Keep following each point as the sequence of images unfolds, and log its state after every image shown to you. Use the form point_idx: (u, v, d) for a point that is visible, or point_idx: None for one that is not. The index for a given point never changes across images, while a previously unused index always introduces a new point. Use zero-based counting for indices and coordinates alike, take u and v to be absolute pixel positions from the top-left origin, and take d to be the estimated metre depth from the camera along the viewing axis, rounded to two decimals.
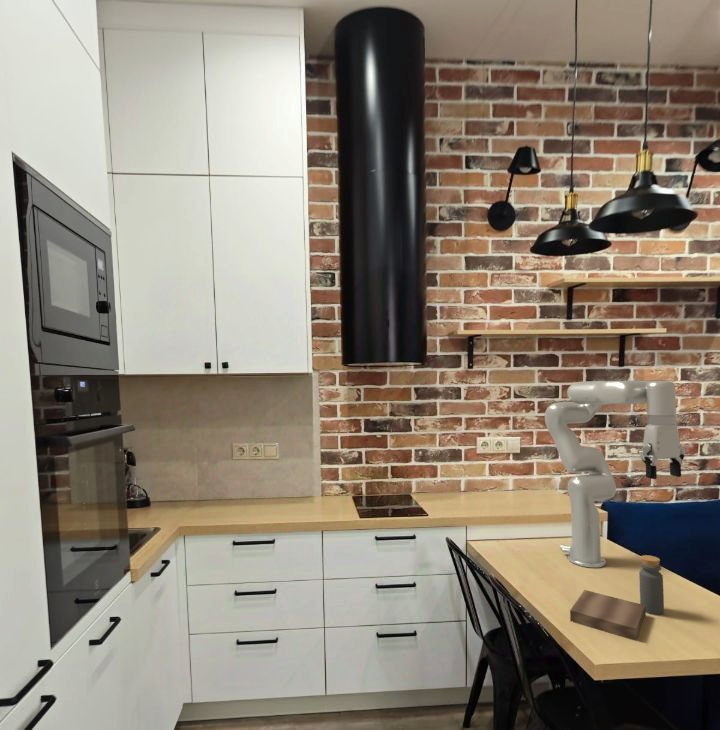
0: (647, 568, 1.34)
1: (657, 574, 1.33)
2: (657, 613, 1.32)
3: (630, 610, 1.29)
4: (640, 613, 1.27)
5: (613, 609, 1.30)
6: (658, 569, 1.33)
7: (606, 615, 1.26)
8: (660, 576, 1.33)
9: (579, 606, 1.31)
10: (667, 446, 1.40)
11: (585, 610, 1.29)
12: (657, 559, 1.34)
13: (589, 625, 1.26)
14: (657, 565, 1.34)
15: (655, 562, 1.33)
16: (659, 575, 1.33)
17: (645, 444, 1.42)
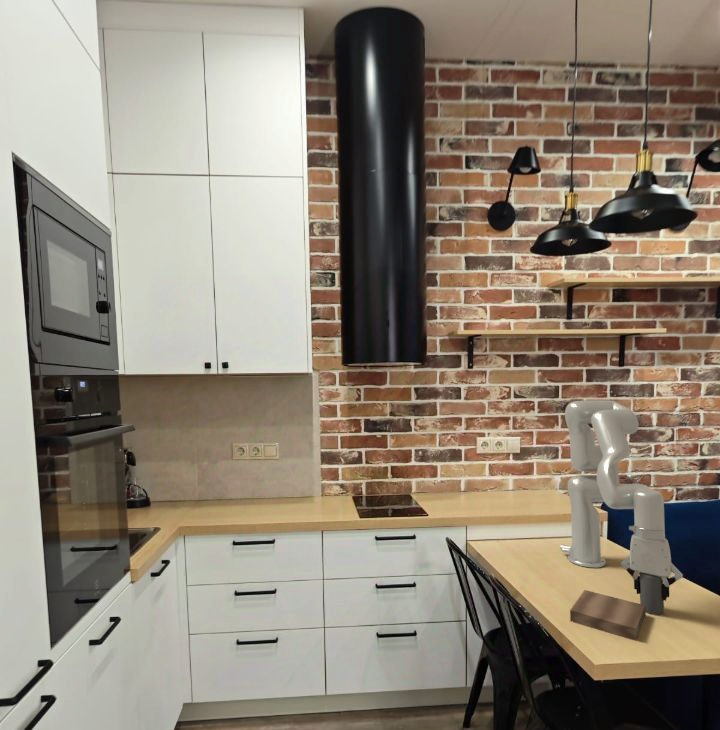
0: None
1: None
2: (657, 613, 1.32)
3: (630, 610, 1.29)
4: (640, 613, 1.27)
5: (613, 609, 1.30)
6: None
7: (606, 615, 1.26)
8: None
9: (579, 606, 1.31)
10: None
11: (585, 610, 1.29)
12: None
13: (589, 625, 1.26)
14: None
15: None
16: None
17: (670, 563, 1.31)
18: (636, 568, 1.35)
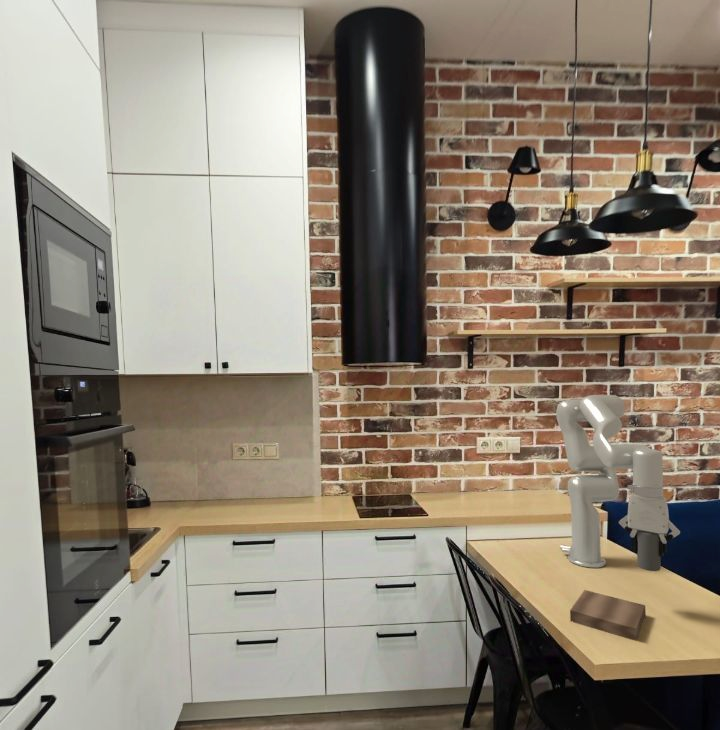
0: None
1: None
2: (654, 569, 1.33)
3: (630, 610, 1.29)
4: (640, 613, 1.27)
5: (613, 609, 1.30)
6: None
7: (606, 615, 1.26)
8: None
9: (579, 606, 1.31)
10: None
11: (585, 610, 1.29)
12: None
13: (589, 625, 1.26)
14: None
15: None
16: None
17: (668, 520, 1.32)
18: (634, 526, 1.36)
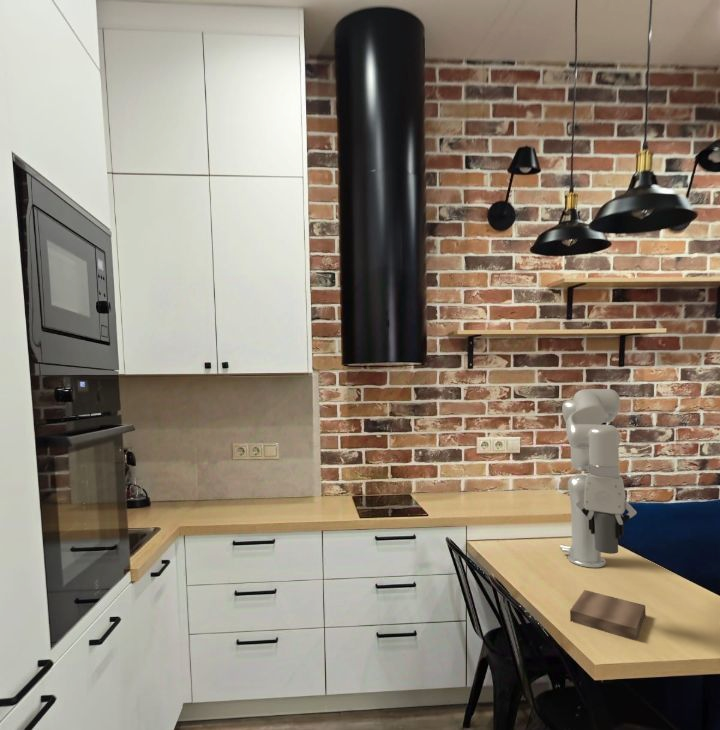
0: None
1: None
2: (610, 552, 1.28)
3: (630, 610, 1.29)
4: (640, 613, 1.27)
5: (613, 609, 1.30)
6: None
7: (606, 615, 1.26)
8: None
9: (579, 606, 1.31)
10: None
11: (585, 610, 1.29)
12: None
13: (589, 625, 1.26)
14: None
15: None
16: None
17: (624, 500, 1.28)
18: (590, 507, 1.32)
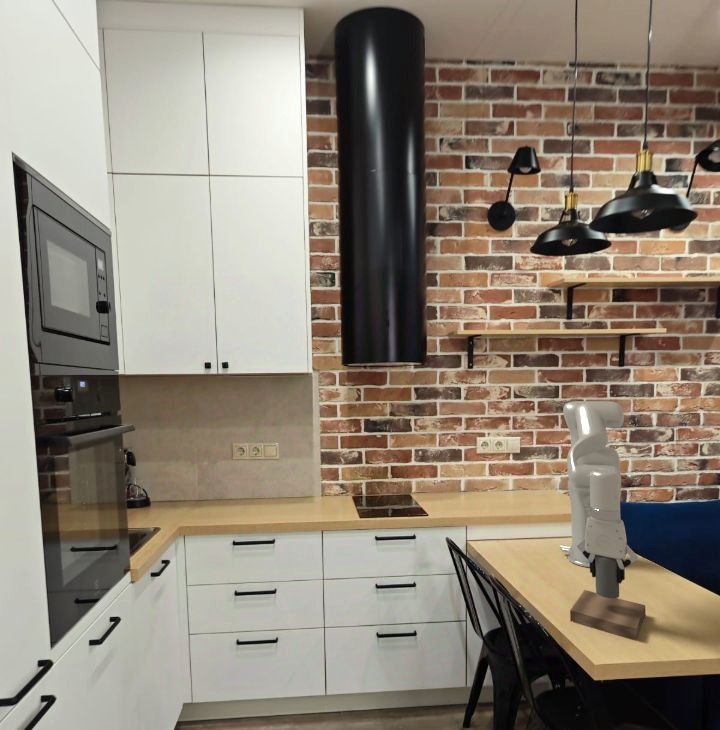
0: None
1: None
2: (612, 596, 1.28)
3: (630, 610, 1.29)
4: (640, 613, 1.27)
5: (613, 609, 1.30)
6: None
7: (606, 615, 1.26)
8: None
9: (579, 606, 1.31)
10: None
11: (585, 610, 1.29)
12: None
13: (589, 625, 1.26)
14: None
15: None
16: None
17: (625, 544, 1.27)
18: (591, 550, 1.31)
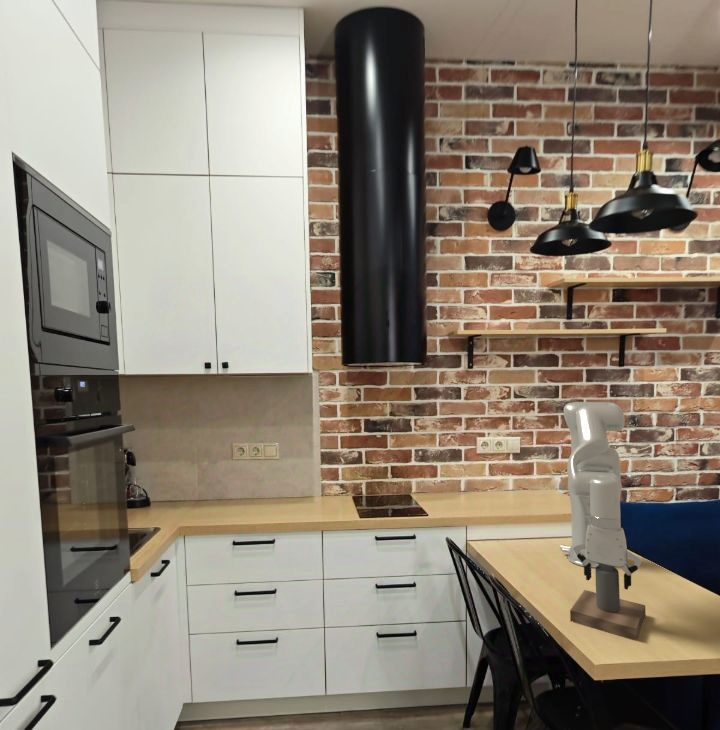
0: (602, 564, 1.29)
1: (612, 570, 1.29)
2: (612, 610, 1.28)
3: (630, 610, 1.29)
4: (640, 613, 1.27)
5: None
6: None
7: (606, 615, 1.26)
8: (615, 572, 1.29)
9: (579, 606, 1.31)
10: None
11: (585, 610, 1.29)
12: None
13: (589, 625, 1.26)
14: None
15: None
16: (614, 571, 1.29)
17: (625, 552, 1.27)
18: (591, 558, 1.31)
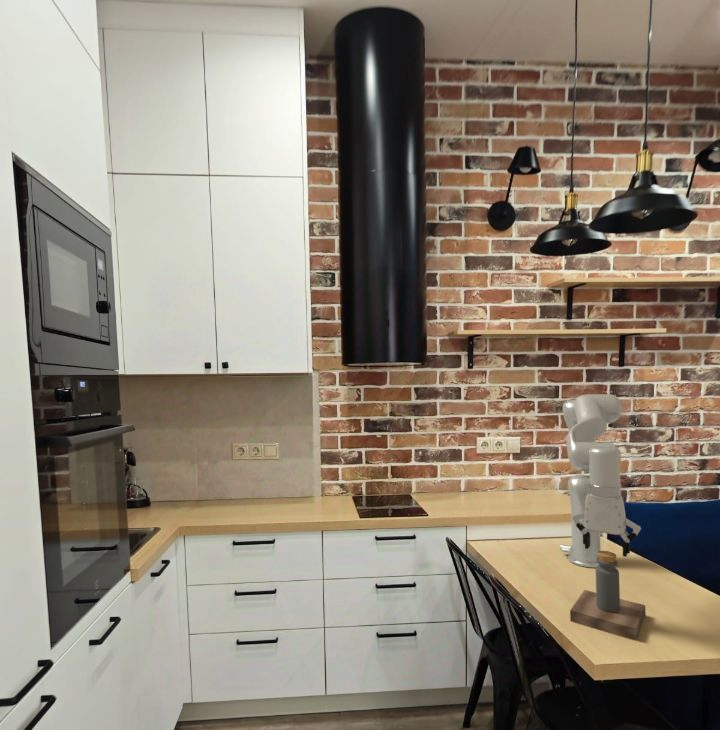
0: (603, 564, 1.29)
1: (613, 570, 1.29)
2: (612, 610, 1.28)
3: (630, 610, 1.29)
4: (640, 613, 1.27)
5: None
6: (614, 565, 1.29)
7: (606, 615, 1.26)
8: (616, 572, 1.29)
9: (579, 606, 1.31)
10: None
11: (585, 610, 1.29)
12: (613, 555, 1.30)
13: (589, 625, 1.26)
14: (613, 561, 1.29)
15: (611, 558, 1.29)
16: (615, 571, 1.29)
17: (624, 520, 1.27)
18: (590, 527, 1.32)
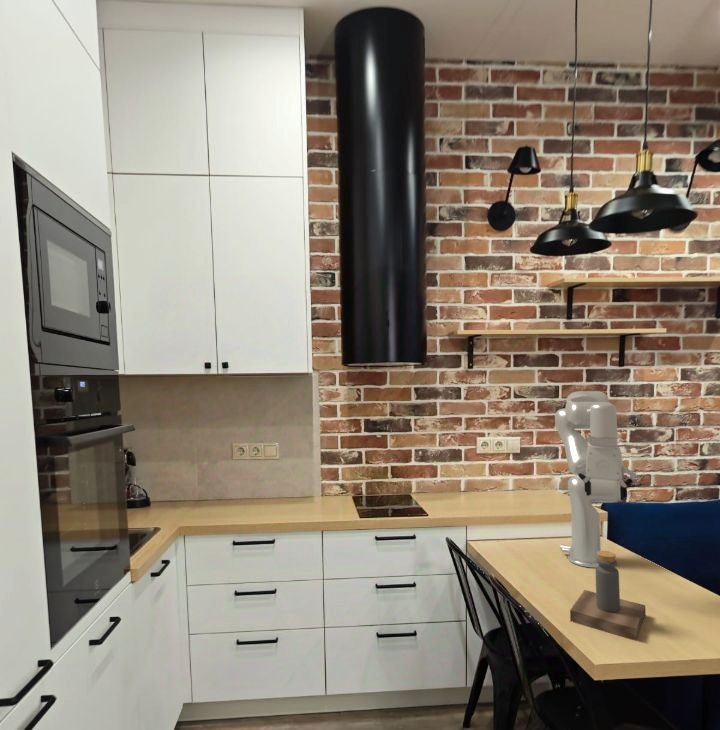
0: (602, 564, 1.30)
1: (613, 570, 1.29)
2: (612, 610, 1.28)
3: (630, 610, 1.29)
4: (640, 613, 1.27)
5: None
6: (614, 565, 1.29)
7: (606, 615, 1.26)
8: (616, 572, 1.29)
9: (579, 606, 1.31)
10: None
11: (585, 610, 1.29)
12: (613, 555, 1.30)
13: (589, 625, 1.26)
14: (613, 561, 1.29)
15: (610, 558, 1.29)
16: (615, 571, 1.29)
17: (621, 467, 1.42)
18: (591, 475, 1.46)
